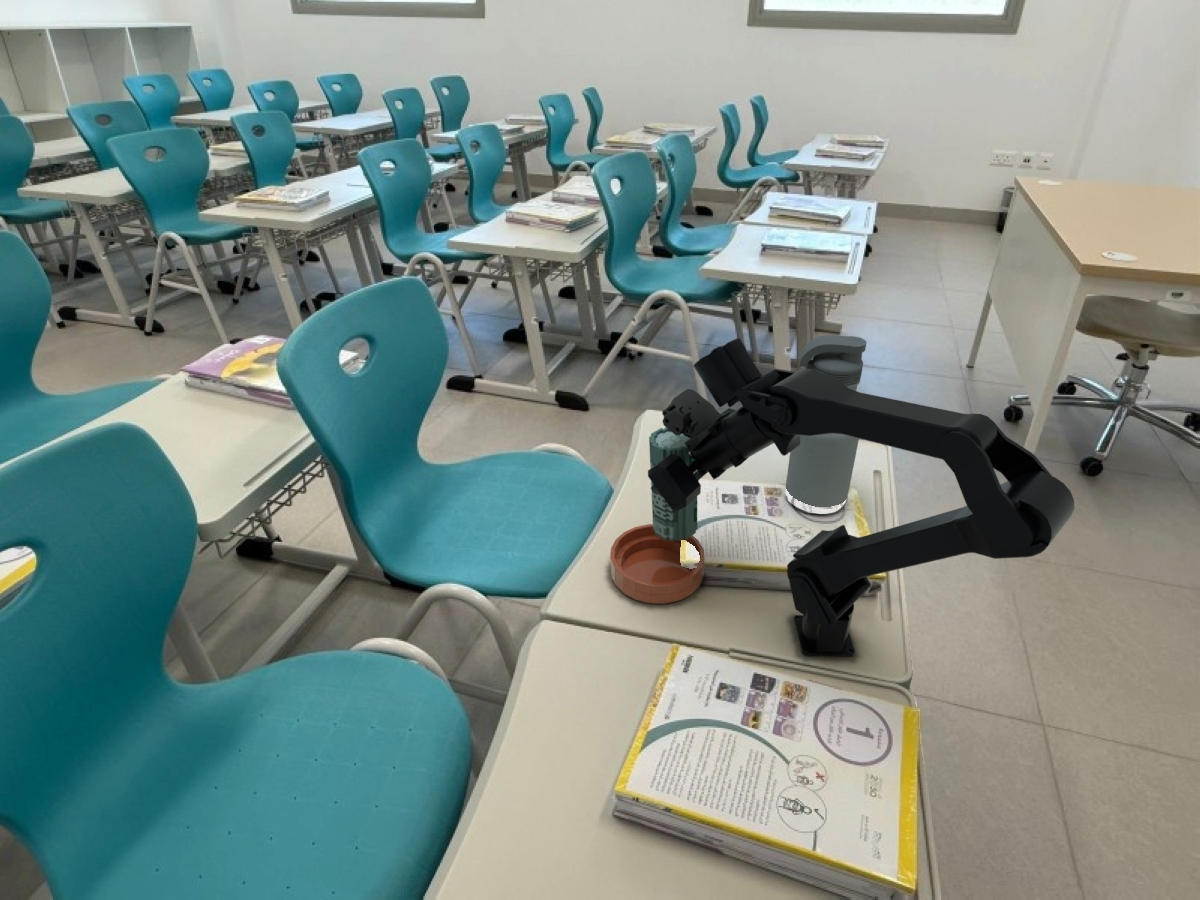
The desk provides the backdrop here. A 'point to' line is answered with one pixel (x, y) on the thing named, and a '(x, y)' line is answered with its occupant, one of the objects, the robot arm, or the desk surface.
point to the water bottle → (827, 458)
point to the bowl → (653, 566)
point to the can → (664, 517)
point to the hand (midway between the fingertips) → (666, 479)
